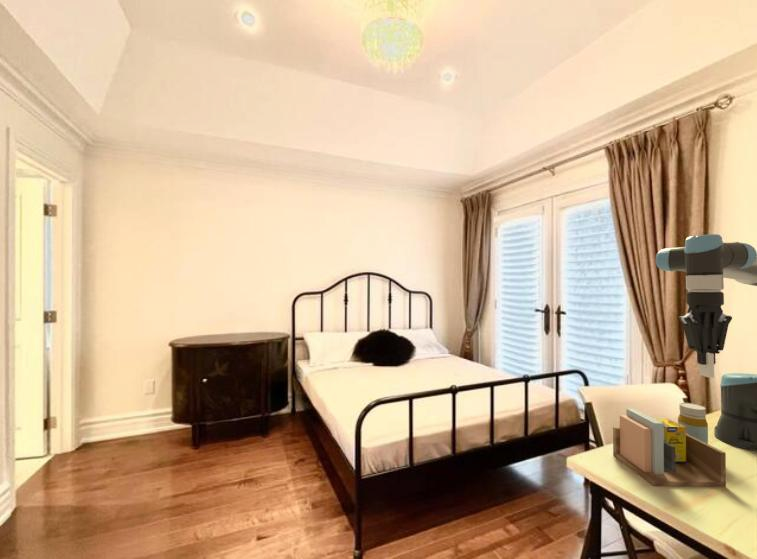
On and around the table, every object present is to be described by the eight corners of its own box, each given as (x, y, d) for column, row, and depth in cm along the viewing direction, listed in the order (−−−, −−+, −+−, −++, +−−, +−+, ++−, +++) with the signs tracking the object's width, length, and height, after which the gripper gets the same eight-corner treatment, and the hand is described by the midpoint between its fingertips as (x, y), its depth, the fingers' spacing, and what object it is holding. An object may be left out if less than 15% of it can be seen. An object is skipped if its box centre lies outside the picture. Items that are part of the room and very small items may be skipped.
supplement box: (687, 464, 99) (686, 426, 99) (666, 464, 99) (666, 426, 99) (669, 454, 105) (669, 418, 105) (650, 454, 105) (650, 418, 105)
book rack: (674, 456, 106) (674, 427, 106) (725, 486, 90) (725, 452, 90) (613, 455, 107) (613, 426, 107) (653, 485, 91) (653, 452, 91)
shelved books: (634, 454, 105) (634, 408, 105) (663, 474, 94) (663, 423, 94) (619, 453, 105) (619, 408, 105) (647, 473, 94) (647, 423, 94)
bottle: (710, 461, 103) (710, 411, 104) (680, 454, 107) (680, 407, 107) (704, 451, 109) (704, 404, 109) (675, 445, 113) (675, 400, 113)
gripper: (714, 290, 98) (716, 371, 98) (669, 291, 97) (671, 373, 97) (742, 290, 90) (744, 379, 90) (693, 292, 90) (696, 380, 90)
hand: (706, 376), depth 94 cm, fingers closed
